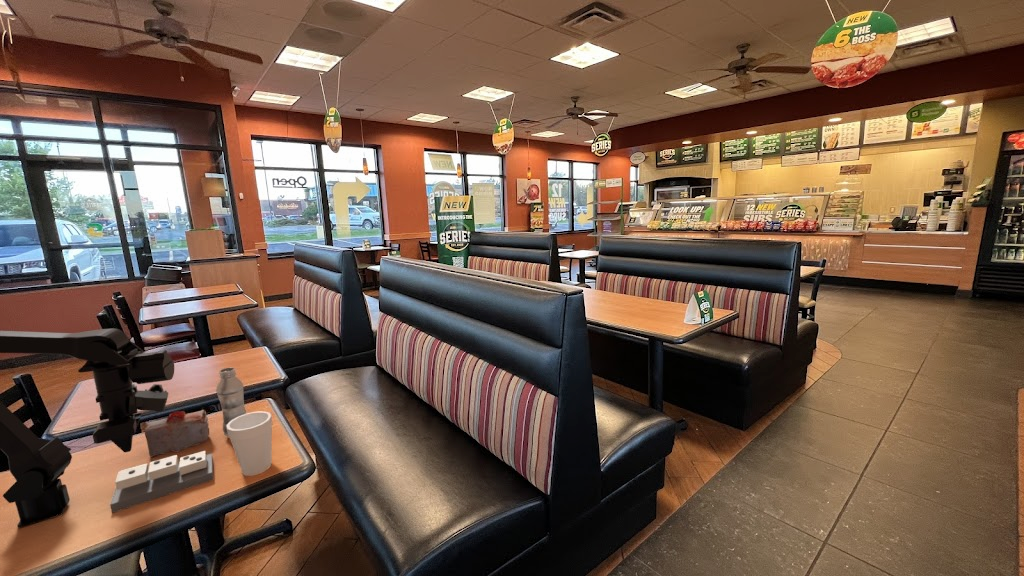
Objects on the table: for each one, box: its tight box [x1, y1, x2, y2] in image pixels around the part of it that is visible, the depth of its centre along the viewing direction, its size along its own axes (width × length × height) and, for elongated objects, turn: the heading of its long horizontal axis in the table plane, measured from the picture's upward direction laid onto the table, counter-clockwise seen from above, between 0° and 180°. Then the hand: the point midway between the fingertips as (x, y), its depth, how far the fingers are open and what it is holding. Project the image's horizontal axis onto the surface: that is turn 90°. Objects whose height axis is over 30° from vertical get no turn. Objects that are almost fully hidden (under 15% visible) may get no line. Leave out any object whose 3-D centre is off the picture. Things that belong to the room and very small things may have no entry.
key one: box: [114, 462, 149, 490], centre depth 95 cm, size 5×5×2 cm
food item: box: [144, 409, 210, 458], centre depth 115 cm, size 14×8×10 cm, turn 125°
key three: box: [179, 450, 207, 475], centre depth 102 cm, size 5×5×2 cm
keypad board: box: [109, 453, 214, 514], centre depth 99 cm, size 18×10×2 cm, turn 126°
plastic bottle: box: [215, 367, 247, 438], centre depth 118 cm, size 6×7×20 cm
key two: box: [148, 454, 179, 481], centre depth 98 cm, size 5×5×2 cm
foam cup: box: [226, 410, 274, 477], centre depth 103 cm, size 10×9×13 cm
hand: (128, 451), depth 94 cm, fingers closed
